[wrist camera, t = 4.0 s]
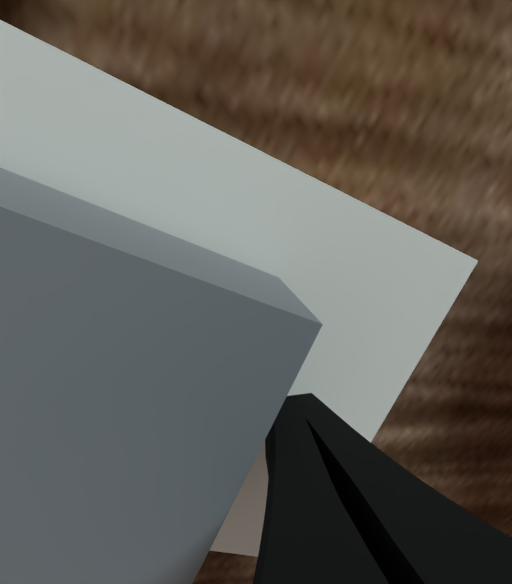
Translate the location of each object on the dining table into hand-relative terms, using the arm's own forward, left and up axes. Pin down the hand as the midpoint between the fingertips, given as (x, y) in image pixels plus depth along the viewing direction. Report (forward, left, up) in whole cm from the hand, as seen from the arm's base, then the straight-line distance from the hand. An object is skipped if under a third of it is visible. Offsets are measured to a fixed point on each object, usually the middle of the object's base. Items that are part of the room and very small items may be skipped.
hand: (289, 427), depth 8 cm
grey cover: (+5, 0, -1) cm, 5 cm away
